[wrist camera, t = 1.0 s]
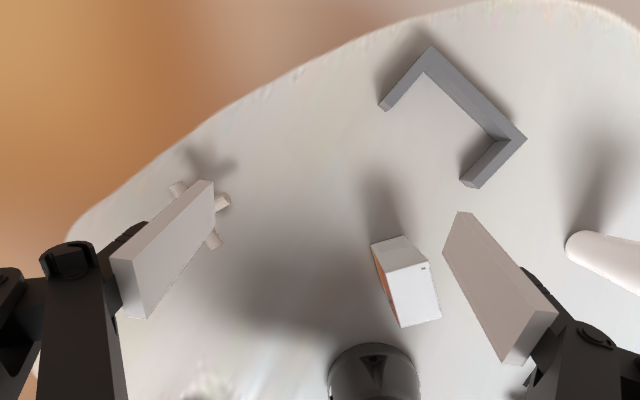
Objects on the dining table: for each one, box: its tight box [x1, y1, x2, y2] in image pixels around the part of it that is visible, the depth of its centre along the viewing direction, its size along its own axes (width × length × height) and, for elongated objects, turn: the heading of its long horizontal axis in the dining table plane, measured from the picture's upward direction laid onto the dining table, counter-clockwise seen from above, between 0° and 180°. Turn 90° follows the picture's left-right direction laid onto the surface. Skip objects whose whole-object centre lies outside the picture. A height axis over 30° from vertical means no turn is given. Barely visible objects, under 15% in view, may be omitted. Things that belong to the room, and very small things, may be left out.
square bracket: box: [378, 45, 528, 189], centre depth 39 cm, size 18×9×4 cm, turn 49°
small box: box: [370, 235, 443, 328], centre depth 39 cm, size 8×6×10 cm
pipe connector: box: [170, 181, 231, 250], centre depth 38 cm, size 10×10×10 cm
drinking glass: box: [565, 230, 640, 296], centre depth 36 cm, size 7×7×15 cm
